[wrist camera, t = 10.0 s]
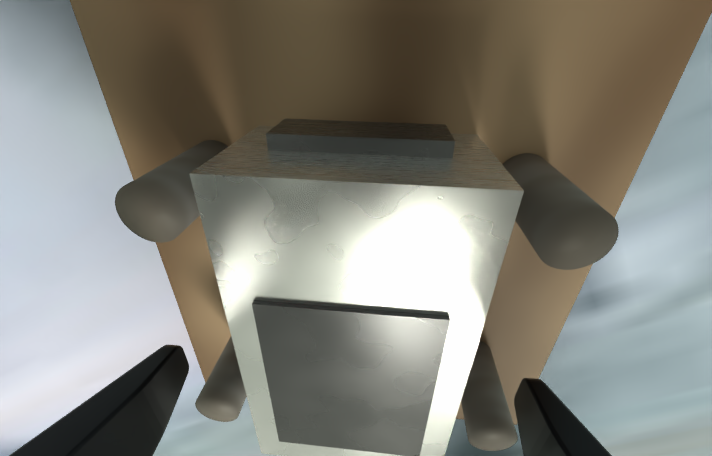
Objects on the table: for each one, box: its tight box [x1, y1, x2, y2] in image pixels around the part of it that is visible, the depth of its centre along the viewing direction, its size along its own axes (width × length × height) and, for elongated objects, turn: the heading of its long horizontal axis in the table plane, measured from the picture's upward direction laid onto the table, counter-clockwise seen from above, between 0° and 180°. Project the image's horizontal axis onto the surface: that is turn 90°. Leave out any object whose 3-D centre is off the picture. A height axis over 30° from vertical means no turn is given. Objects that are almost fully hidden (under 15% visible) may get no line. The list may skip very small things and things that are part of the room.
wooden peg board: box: [70, 0, 712, 451], centre depth 11 cm, size 16×18×5 cm
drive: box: [189, 119, 524, 456], centre depth 11 cm, size 6×11×4 cm, turn 179°
